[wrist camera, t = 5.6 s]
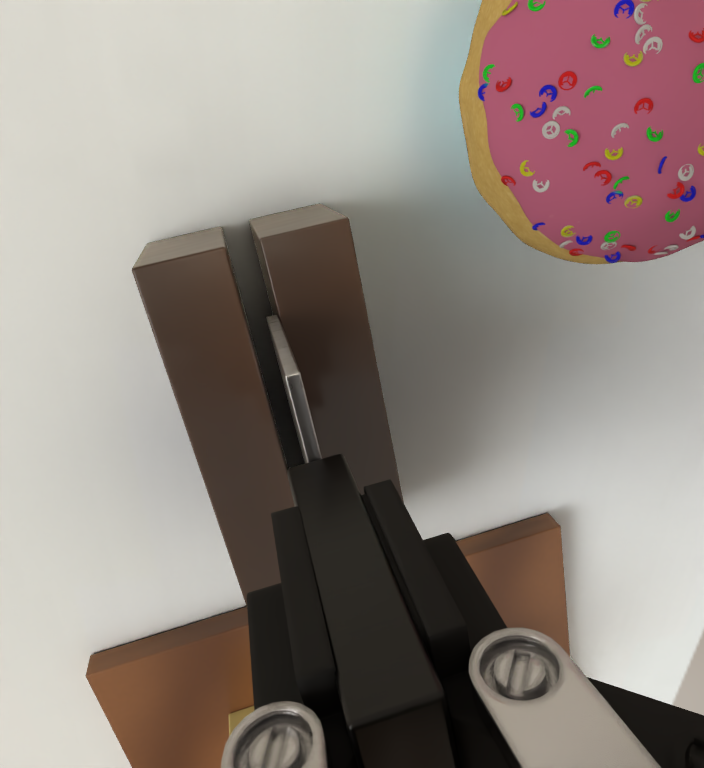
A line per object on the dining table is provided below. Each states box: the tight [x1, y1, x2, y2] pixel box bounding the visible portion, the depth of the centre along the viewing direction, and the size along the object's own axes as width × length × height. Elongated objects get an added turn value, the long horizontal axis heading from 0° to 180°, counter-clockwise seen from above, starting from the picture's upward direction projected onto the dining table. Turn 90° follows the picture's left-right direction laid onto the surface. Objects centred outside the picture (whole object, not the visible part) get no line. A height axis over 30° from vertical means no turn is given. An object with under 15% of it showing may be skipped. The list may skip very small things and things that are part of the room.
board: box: [86, 513, 570, 768], centre depth 25 cm, size 18×12×1 cm, turn 101°
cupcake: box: [459, 0, 704, 264], centre depth 13 cm, size 9×8×12 cm
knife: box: [266, 315, 460, 768], centre depth 12 cm, size 1×7×10 cm, turn 11°
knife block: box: [132, 203, 404, 605], centre depth 18 cm, size 5×11×4 cm, turn 11°
